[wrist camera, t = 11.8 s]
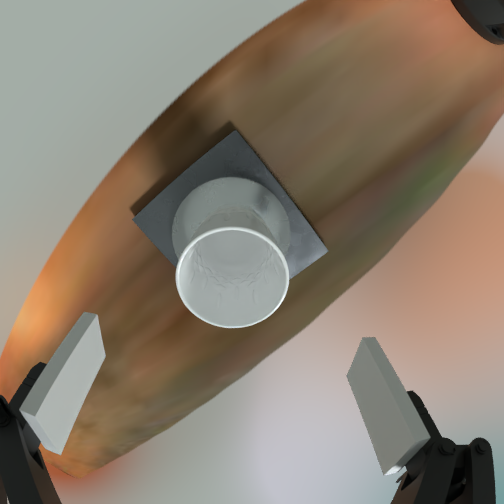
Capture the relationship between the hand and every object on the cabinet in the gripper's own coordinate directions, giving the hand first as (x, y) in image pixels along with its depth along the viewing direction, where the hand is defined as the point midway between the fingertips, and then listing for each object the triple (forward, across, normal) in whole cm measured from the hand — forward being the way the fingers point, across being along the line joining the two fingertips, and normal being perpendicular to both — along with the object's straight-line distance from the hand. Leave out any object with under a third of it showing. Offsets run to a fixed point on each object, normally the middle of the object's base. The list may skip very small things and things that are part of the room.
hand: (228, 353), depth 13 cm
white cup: (+18, 0, 0) cm, 18 cm away
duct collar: (+19, 0, 0) cm, 19 cm away
